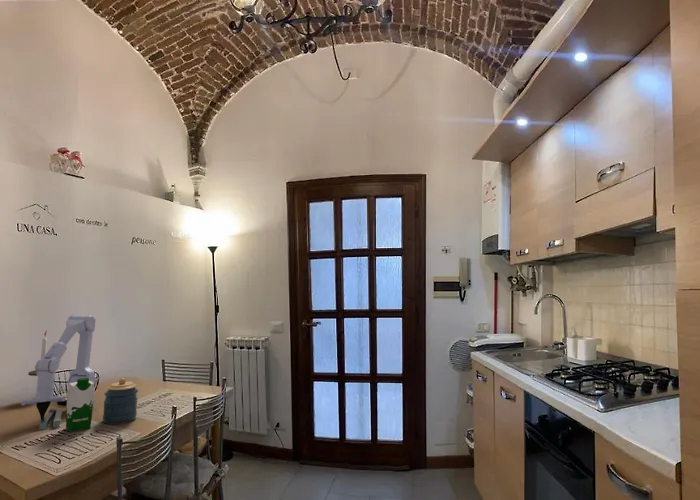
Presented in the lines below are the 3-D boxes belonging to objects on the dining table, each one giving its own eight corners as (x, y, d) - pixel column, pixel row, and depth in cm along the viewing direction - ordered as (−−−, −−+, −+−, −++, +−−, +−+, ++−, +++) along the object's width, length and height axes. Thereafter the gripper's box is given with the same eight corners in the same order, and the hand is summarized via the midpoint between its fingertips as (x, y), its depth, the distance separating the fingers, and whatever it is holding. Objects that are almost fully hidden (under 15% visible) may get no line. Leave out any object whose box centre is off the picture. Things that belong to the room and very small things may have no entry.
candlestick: (55, 400, 204) (61, 330, 207) (28, 405, 196) (35, 331, 199) (49, 396, 211) (55, 328, 214) (23, 400, 203) (29, 329, 206)
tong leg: (53, 417, 178) (54, 411, 178) (46, 429, 164) (46, 422, 164) (47, 418, 177) (48, 411, 178) (39, 429, 163) (39, 422, 163)
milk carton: (67, 433, 159) (71, 381, 161) (62, 428, 166) (66, 377, 168) (93, 428, 165) (97, 378, 167) (87, 423, 172) (91, 374, 174)
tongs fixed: (62, 414, 183) (62, 406, 183) (59, 427, 166) (60, 418, 167) (48, 415, 180) (49, 408, 181) (44, 429, 164) (45, 420, 164)
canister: (98, 419, 177) (101, 378, 178) (130, 413, 186) (132, 373, 188) (107, 427, 168) (111, 383, 169) (141, 420, 177) (143, 378, 179)
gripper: (22, 391, 164) (18, 426, 163) (65, 387, 172) (62, 420, 170) (24, 387, 170) (21, 421, 169) (66, 383, 178) (63, 416, 176)
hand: (42, 420), depth 170 cm, fingers closed
